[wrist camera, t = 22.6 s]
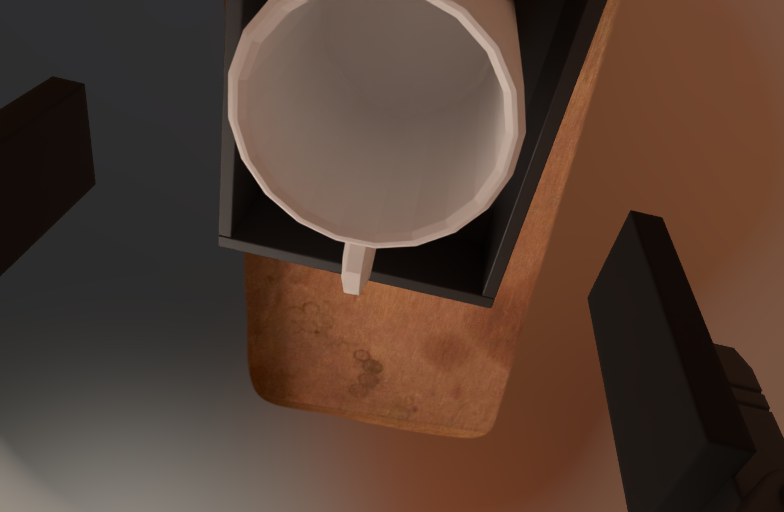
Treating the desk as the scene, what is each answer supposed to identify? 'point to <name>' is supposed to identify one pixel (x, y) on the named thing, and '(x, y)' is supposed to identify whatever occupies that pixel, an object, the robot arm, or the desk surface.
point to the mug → (379, 116)
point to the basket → (477, 238)
